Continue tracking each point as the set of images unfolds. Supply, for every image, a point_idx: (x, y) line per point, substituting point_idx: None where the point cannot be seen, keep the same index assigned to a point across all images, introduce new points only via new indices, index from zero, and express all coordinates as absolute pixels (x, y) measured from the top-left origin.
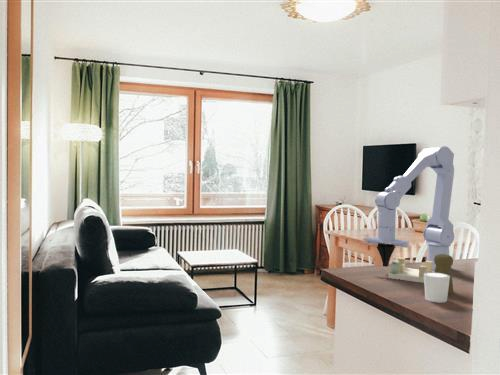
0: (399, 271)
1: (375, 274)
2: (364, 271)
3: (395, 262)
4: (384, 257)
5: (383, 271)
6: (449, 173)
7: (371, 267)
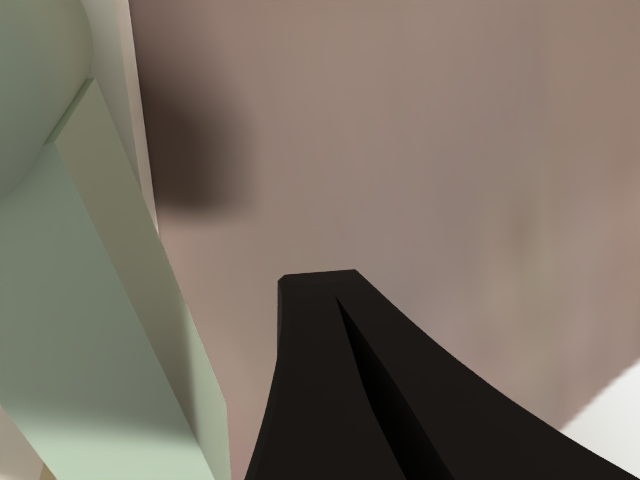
0: None
1: (420, 72)
2: (596, 168)
3: (81, 394)
4: (388, 415)
5: None
6: None
7: None
